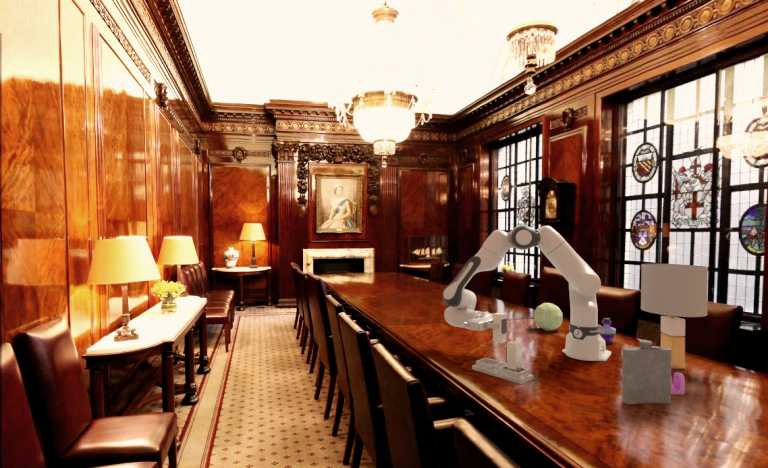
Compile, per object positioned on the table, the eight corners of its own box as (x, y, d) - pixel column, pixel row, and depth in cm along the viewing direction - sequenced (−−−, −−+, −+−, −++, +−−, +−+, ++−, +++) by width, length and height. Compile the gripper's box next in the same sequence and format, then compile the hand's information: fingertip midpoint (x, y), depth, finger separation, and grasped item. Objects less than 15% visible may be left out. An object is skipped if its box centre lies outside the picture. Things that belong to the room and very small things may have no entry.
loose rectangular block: (498, 339, 186) (498, 312, 185) (507, 341, 182) (507, 314, 182) (493, 341, 183) (493, 313, 183) (502, 343, 179) (502, 315, 179)
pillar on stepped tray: (484, 365, 176) (484, 332, 176) (533, 379, 159) (533, 343, 159) (471, 369, 170) (472, 336, 170) (521, 384, 154) (521, 347, 154)
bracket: (684, 394, 145) (684, 374, 145) (667, 394, 145) (668, 374, 145) (661, 381, 158) (661, 362, 158) (646, 380, 158) (646, 362, 158)
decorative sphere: (529, 327, 245) (529, 301, 245) (553, 326, 247) (554, 301, 246) (541, 333, 230) (542, 306, 230) (567, 332, 232) (568, 305, 232)
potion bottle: (619, 344, 209) (620, 320, 209) (602, 344, 209) (602, 320, 209) (610, 339, 217) (611, 316, 217) (593, 339, 217) (594, 316, 217)
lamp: (721, 375, 164) (722, 268, 164) (662, 374, 165) (663, 268, 164) (680, 357, 187) (682, 263, 187) (629, 357, 187) (629, 263, 187)
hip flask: (626, 404, 136) (626, 342, 136) (618, 399, 140) (618, 339, 140) (673, 403, 137) (673, 342, 137) (664, 398, 141) (664, 339, 141)
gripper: (460, 316, 185) (487, 321, 175) (487, 310, 199) (514, 315, 189) (460, 331, 185) (487, 336, 175) (487, 324, 199) (514, 329, 189)
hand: (501, 325), depth 182 cm, fingers closed on loose rectangular block, 4 cm apart
